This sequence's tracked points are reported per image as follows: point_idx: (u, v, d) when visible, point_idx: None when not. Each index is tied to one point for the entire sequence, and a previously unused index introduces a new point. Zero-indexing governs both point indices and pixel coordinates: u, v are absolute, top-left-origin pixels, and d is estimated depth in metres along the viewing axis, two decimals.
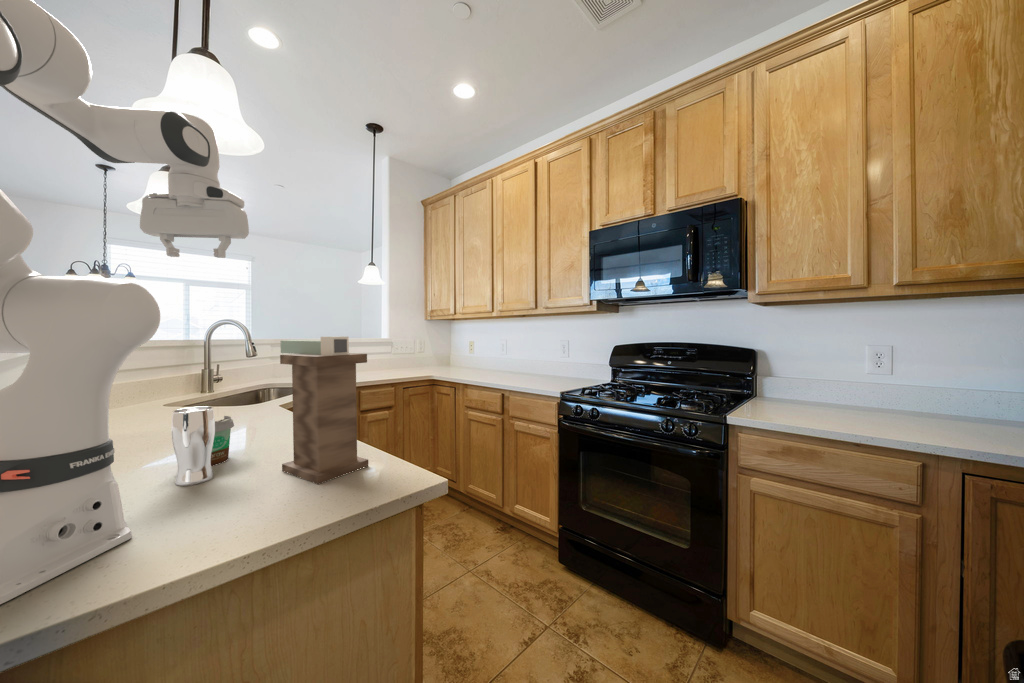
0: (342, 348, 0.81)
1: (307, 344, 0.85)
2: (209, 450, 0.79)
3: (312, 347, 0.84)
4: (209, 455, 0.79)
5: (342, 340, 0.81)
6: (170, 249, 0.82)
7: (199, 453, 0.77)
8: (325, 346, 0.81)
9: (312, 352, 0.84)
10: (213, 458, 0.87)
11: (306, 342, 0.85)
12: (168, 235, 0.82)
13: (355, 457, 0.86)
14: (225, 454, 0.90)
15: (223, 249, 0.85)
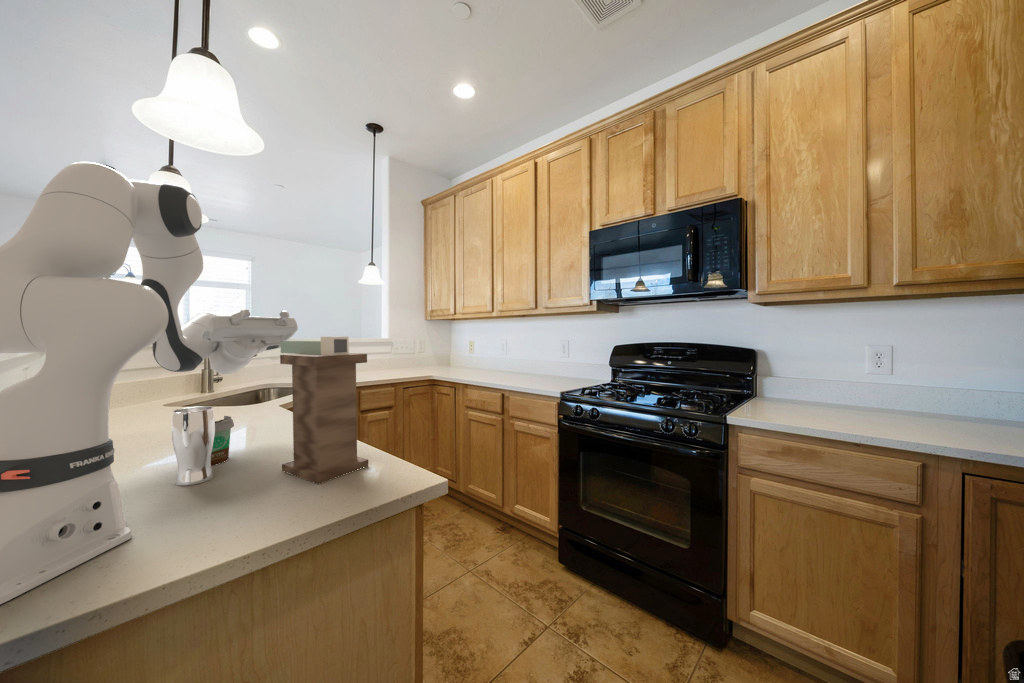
0: (342, 348, 0.81)
1: (307, 344, 0.85)
2: (209, 450, 0.79)
3: (312, 347, 0.84)
4: (209, 455, 0.79)
5: (342, 340, 0.81)
6: None
7: (199, 453, 0.77)
8: (325, 346, 0.81)
9: (312, 352, 0.84)
10: (213, 458, 0.87)
11: (306, 342, 0.85)
12: None
13: (355, 457, 0.86)
14: (225, 454, 0.90)
15: None
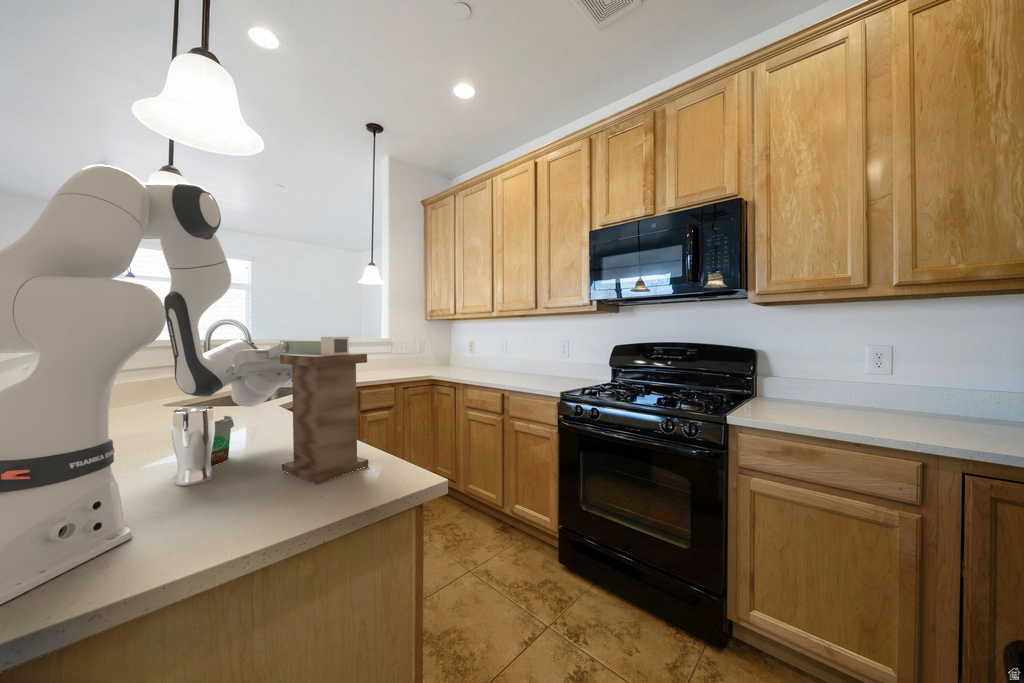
0: (342, 348, 0.81)
1: (307, 344, 0.85)
2: (209, 450, 0.79)
3: (312, 347, 0.84)
4: (209, 455, 0.79)
5: (342, 340, 0.81)
6: None
7: (199, 453, 0.77)
8: (325, 346, 0.81)
9: (312, 352, 0.84)
10: (213, 458, 0.87)
11: (306, 342, 0.85)
12: None
13: (355, 457, 0.86)
14: (225, 454, 0.90)
15: None
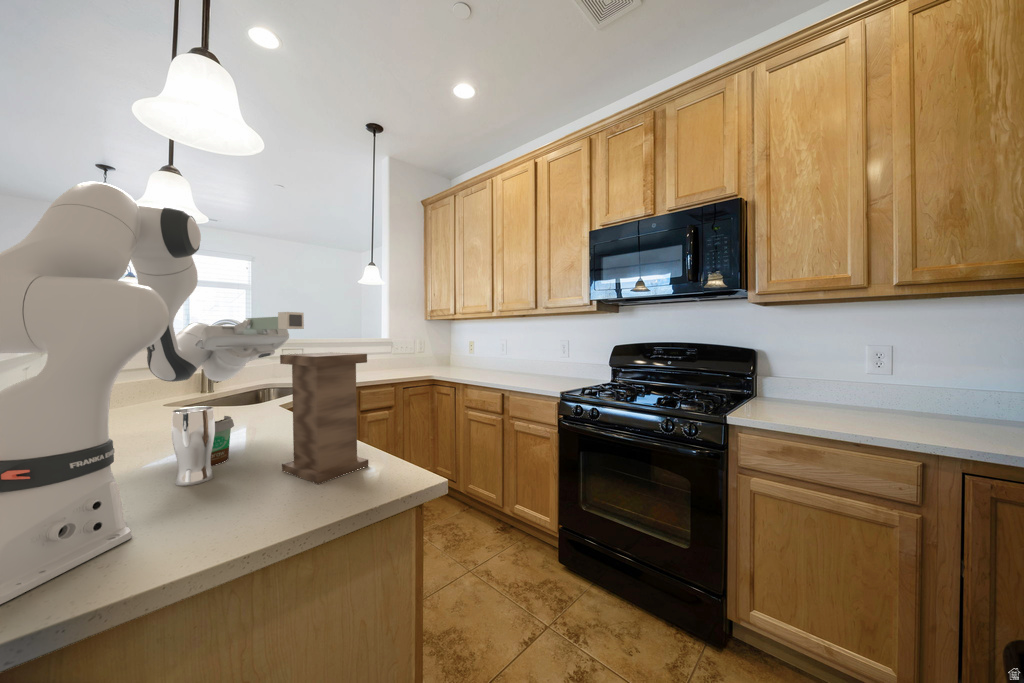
0: (297, 322, 0.91)
1: (267, 319, 0.95)
2: (209, 450, 0.79)
3: (271, 322, 0.94)
4: (209, 455, 0.79)
5: (297, 315, 0.91)
6: None
7: (199, 453, 0.77)
8: (281, 320, 0.90)
9: (271, 327, 0.94)
10: (213, 458, 0.87)
11: (267, 318, 0.95)
12: None
13: (355, 457, 0.86)
14: (225, 454, 0.90)
15: None
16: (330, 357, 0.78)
